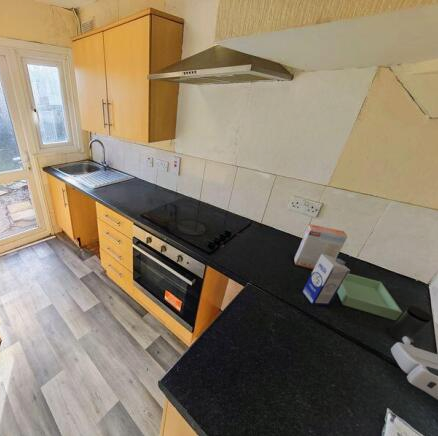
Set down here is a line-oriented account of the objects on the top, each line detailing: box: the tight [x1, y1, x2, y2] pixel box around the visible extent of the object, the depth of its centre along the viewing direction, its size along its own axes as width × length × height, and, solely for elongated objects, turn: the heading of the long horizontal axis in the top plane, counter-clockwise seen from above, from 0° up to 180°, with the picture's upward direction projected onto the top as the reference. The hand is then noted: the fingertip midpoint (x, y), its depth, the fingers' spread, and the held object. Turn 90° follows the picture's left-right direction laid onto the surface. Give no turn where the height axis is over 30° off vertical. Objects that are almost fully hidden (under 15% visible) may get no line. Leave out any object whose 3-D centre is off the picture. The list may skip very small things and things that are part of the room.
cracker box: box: [293, 223, 348, 271], centre depth 107 cm, size 14×6×21 cm, turn 65°
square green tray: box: [337, 273, 403, 322], centre depth 94 cm, size 17×18×4 cm
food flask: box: [388, 305, 433, 344], centre depth 76 cm, size 5×5×12 cm
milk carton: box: [302, 254, 351, 306], centre depth 88 cm, size 7×7×20 cm
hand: (426, 344), depth 69 cm, fingers open, 8 cm apart
